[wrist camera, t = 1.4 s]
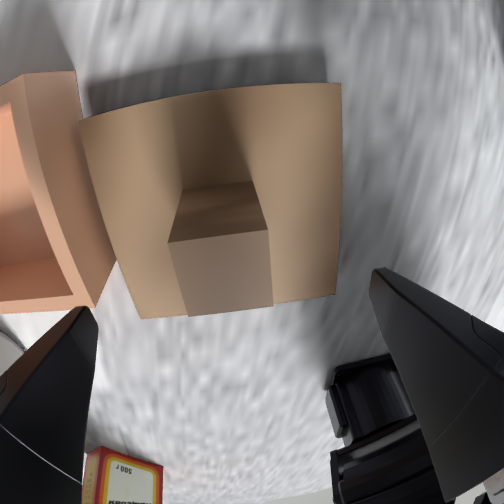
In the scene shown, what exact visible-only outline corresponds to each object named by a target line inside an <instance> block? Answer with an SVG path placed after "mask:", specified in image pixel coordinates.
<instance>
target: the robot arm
mask: <svg viewBox="0 0 504 504" xmlns="http://www.w3.org/2000/svg"><path fill="white" fill-rule="evenodd" d="M369 296H370V299H371V302H372V305H373V308H374V311H375V314H376V317H377V320H378V323H379V326H380V329H381V332H382V335H383V337H384V340H385V342H386V344H387V347H388V349H389V351H390V353H391V354H389V355H386V356H382V357H378V358H374V359H370V360H366V361H362V362H358V363H354V364H349V365H345V366H340V367H337V368H336V369H335V370H334V372H333V377H332V382H331V386H329V388H328V391H327V396H326V405H327V409H328V412H329V416H330V419H331V423H332V426H333V430H334V433H335V437H337V438H343V441H344V445H345V447H344V448H341V449H339V450H334V451H331V452H330V456H331V460H330V466H331V477H332V488H333V503H334V504H454V503H455V499H456V497H458V496H460V495H461V494H463V493H465V492H467V491H469V490H470V489H472V488H474V487H475V486H477V485H479V484H481V483H482V482H483V483H484V486H485V489H486V492H484V493H482V494H481V495H480V496H478V497H476V498H475V501H474V504H504V332H502V331H500V330H498V329H496V328H494V327H492V326H490V325H488V324H487V323H485V322H483V321H481V320H480V319H478V318H476V317H475V316H473V315H470V314H469V313H468V312H466V311H464V310H462V309H461V308H459V307H457V306H455V305H454V304H452V303H450V302H448V301H447V300H445V299H443V298H441V297H439V296H438V295H436V294H434V293H432V292H430V291H429V290H427V289H425V288H423V287H421V286H420V285H418V284H416V283H414V282H412V281H410V280H408V279H407V278H405V277H403V276H401V275H399V274H397V273H395V272H394V271H392V270H390V269H388V268H386V267H383V268H377V269H374V270H373V271H372V275H371V281H370V287H369ZM97 340H98V324H97V322H96V320H95V318H94V316H93V315H92V313H91V311H90V309H89V307H88V306H85V305H84V306H76V307H75V308H73V309H72V310H71V311H70V312H69V313H68V314H66V315H65V316H64V317H63V318H62V319H61V320H60V321H59V322H57V323H56V324H55V325H54V326H53V327H52V328H51V329H50V330H48V331H47V332H46V333H45V334H44V335H43V336H42V337H41V338H40V339H39V340H37V341H36V342H35V343H34V344H33V345H32V346H31V347H30V348H29V349H28V350H27V351H26V352H25V353H24V354H23V355H21V356H20V357H19V358H18V359H17V360H16V361H15V362H14V363H13V364H12V365H11V366H10V367H9V368H8V370H6V371H5V372H4V373H3V374H2V375H1V376H0V504H82V476H83V459H84V447H85V437H86V427H87V419H88V411H89V404H90V397H91V391H92V384H93V378H94V372H95V363H96V351H97Z"/></svg>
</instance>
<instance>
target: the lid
mask: <svg viewBox="0 0 504 504" xmlns="http://www.w3.org/2000/svg"><path fill="white" fill-rule="evenodd" d="M78 123H79V128H80V133H81V137H82V142H83V146H84V151H85V155H86V159H87V163H88V167H89V171H90V175H91V179H92V182H93V186H94V190H95V193H96V197H97V200H98V204H99V207H100V210H101V213H102V217H103V220H104V223H105V226H106V229H107V232H108V235H109V238H110V241H111V244H112V247H113V250H114V253H115V256H116V258H117V261H118V264H119V267H120V269H121V272H122V275H123V277H124V280H125V282H126V285H127V288H128V290H129V293H130V295H131V298H132V300H133V302H134V305H135V307H136V310H137V312H138V314H139V317H140V319H149V318H161V317H171V316H181V315H188V317H190V316H199V315H208V314H217V313H225V312H233V311H241V310H249V309H256V308H264V307H271V306H273V304H278V303H285V302H292V301H298V300H305V299H311V298H317V297H323V296H329V295H335V292H336V281H337V269H338V256H339V241H340V224H341V200H342V101H341V84H340V83H288V84H270V85H256V86H245V87H235V88H226V89H218V90H211V91H204V92H197V93H191V94H185V95H179V96H174V97H168V98H163V99H158V100H154V101H149V102H144V103H140V104H136V105H132V106H128V107H124V108H120V109H116V110H112V111H108V112H105V113H101V114H98V115H95V116H91V117H88V118H85V119H82V120H80V121H78Z"/></svg>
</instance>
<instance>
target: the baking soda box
mask: <svg viewBox="0 0 504 504" xmlns="http://www.w3.org/2000/svg"><path fill="white" fill-rule="evenodd" d="M162 491H163V466H159V465H156V464H152V463H149V462H146V461H142V460H139V459H136V458H133V457H130V456H127V455H124V454H121V453H119V452H116V451H113V450H110V449H108V448H105V447H103V446H101V447H99V448H97V449H96V450H94V451H92V452H90V453H88V454H87V458H86V465H85V471H84V478H83V486H82V504H162Z"/></svg>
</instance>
